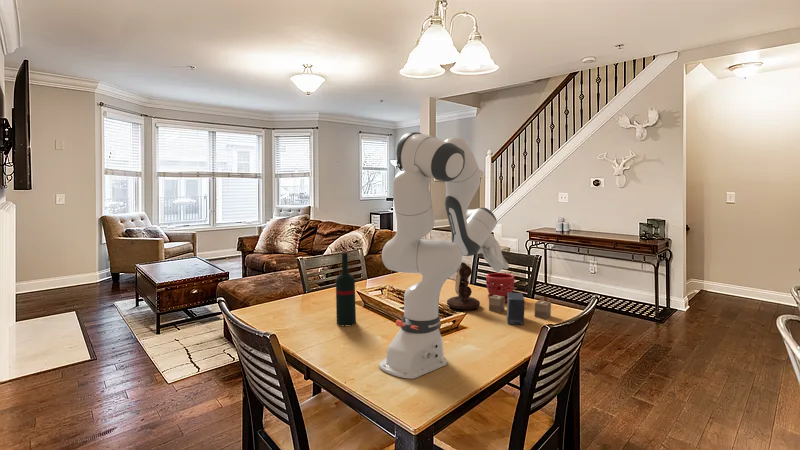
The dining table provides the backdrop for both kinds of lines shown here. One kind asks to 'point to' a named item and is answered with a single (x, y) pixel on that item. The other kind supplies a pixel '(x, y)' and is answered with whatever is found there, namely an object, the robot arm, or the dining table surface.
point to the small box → (515, 308)
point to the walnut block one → (543, 309)
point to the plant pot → (499, 284)
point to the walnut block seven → (496, 303)
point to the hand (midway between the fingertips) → (507, 267)
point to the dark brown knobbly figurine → (463, 290)
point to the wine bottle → (345, 295)
